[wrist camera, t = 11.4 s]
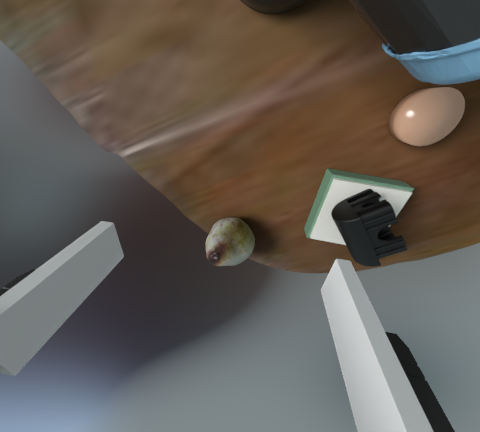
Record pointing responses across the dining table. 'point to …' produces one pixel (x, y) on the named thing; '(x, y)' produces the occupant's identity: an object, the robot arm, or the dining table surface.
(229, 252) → the fruit
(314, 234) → the stand
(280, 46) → the dining table surface
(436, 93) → the pinkish tan egg
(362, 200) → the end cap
